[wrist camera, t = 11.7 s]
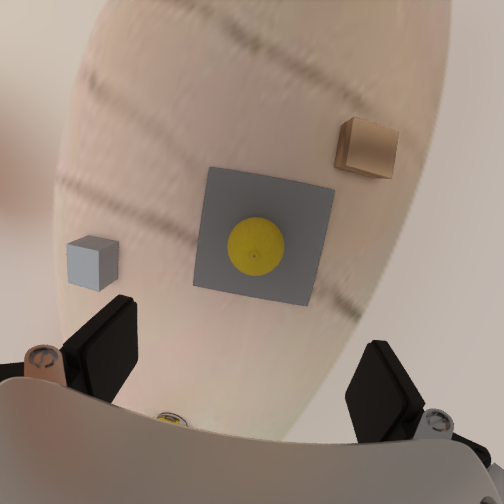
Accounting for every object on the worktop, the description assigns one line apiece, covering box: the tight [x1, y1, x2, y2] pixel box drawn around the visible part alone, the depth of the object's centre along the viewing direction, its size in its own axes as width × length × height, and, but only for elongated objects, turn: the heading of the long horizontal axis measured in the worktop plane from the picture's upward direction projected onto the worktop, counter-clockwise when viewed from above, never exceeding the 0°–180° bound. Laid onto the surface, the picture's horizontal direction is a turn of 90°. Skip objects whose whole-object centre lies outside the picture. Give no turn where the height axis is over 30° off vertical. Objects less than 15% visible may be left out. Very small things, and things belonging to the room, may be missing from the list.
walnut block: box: [334, 117, 399, 179], centre depth 26 cm, size 5×5×5 cm
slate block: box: [67, 236, 119, 292], centre depth 31 cm, size 5×5×5 cm
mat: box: [193, 167, 335, 306], centre depth 32 cm, size 14×14×1 cm
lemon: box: [227, 217, 284, 276], centre depth 28 cm, size 6×6×8 cm
